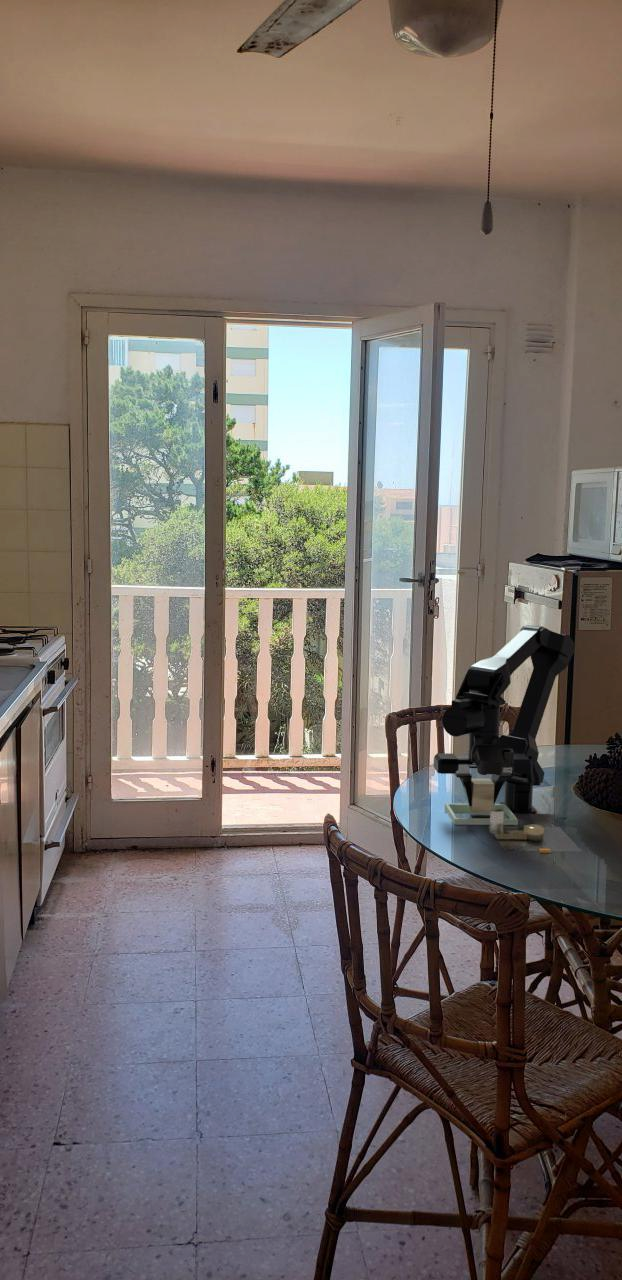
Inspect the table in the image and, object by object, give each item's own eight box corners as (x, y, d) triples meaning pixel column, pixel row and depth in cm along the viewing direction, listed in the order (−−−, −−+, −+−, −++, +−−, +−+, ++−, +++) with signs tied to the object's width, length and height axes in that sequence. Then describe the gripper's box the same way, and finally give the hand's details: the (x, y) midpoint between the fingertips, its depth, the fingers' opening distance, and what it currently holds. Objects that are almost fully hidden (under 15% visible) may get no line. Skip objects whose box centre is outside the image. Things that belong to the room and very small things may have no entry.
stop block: (468, 807, 198) (470, 778, 197) (488, 807, 198) (489, 778, 197) (473, 813, 194) (474, 784, 193) (493, 813, 194) (494, 784, 193)
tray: (444, 815, 201) (445, 803, 201) (504, 815, 202) (505, 803, 201) (454, 831, 191) (454, 819, 191) (517, 832, 191) (518, 819, 191)
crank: (540, 834, 185) (541, 808, 184) (545, 840, 181) (547, 814, 181) (487, 834, 184) (488, 808, 184) (491, 840, 181) (492, 814, 180)
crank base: (487, 834, 190) (487, 823, 190) (559, 834, 191) (559, 824, 190) (505, 860, 175) (506, 849, 175) (583, 861, 176) (583, 850, 176)
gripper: (444, 737, 186) (441, 818, 188) (542, 738, 186) (538, 818, 188) (434, 725, 197) (431, 801, 199) (527, 726, 197) (523, 801, 199)
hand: (481, 805), depth 196 cm, fingers closed on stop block, 4 cm apart
